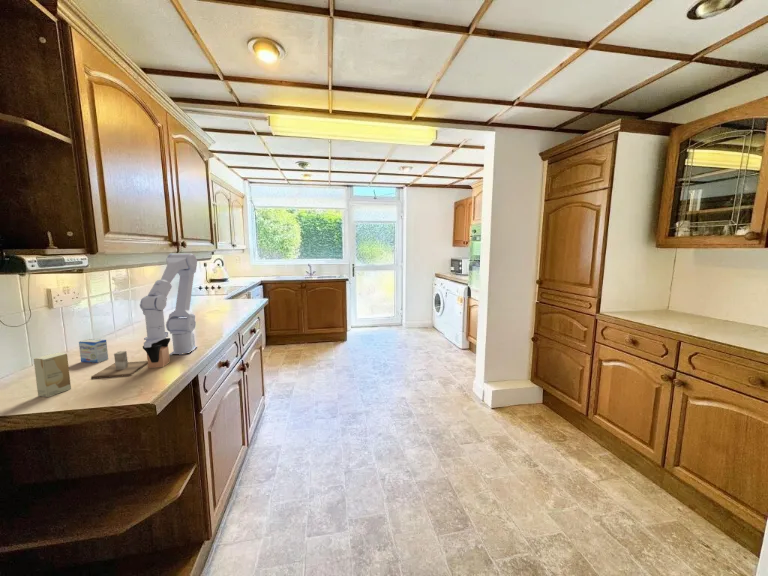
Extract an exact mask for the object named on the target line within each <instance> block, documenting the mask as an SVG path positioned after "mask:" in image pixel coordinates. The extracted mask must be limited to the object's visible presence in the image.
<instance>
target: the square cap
mask: <svg viewBox="0 0 768 576" xmlns="http://www.w3.org/2000/svg"><path fill="white" fill-rule="evenodd" d="M146 358H147V359H146V361H148V364H147V368H148V369H151V368H153V369H154V368H164V367H166V366H167V365H168V364H169V363H170V362H169V361H170V353H169V345H168V346H166V347H161V348H160V351H159V361H158V362H155V363H152V362H151V360H150V358H149V356H148V354H147V353H146ZM168 362H169V363H168ZM167 363H168V364H167ZM163 366H164V367H163Z"/></svg>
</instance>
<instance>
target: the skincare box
mask: <svg viewBox="0 0 768 576" xmlns="http://www.w3.org/2000/svg"><path fill="white" fill-rule="evenodd" d="M33 364H34V374H35V381H36V391H37V396H38V397H45V398H48V397H49V396H50V397H52V396H54V395H57V394H60V393H63V392H66V391H69V390H71V389H72V385H71V377H70V375H71V374H70V368H69V357H68V353H65V352H54V353H51V354H46V355H41V356H39V357H34V358H33ZM50 397H49V398H50Z"/></svg>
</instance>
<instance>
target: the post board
mask: <svg viewBox="0 0 768 576" xmlns="http://www.w3.org/2000/svg"><path fill="white" fill-rule="evenodd" d="M127 353H128V352H127V351H125V350H123V351H117V352H114V354H113V356H114V363H113V364H110V365H108V366H107V367H105V368H104V369H102V370H100V371H99V372H97V373H95V374H93V375H91V376H90V378H91V379H92V380H93V379H105V378H117V377H119V378H121V377H129V376H130V377H131V376H132V375H135V373H137V372H138V371H139V370H141V369H143V368H144V367H146V366H148V360H142V361H140V360H139V361H128V354H127Z"/></svg>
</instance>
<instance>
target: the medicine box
mask: <svg viewBox="0 0 768 576" xmlns="http://www.w3.org/2000/svg"><path fill="white" fill-rule="evenodd" d="M78 347H79V354H80V355H79V357H80V362H81V363H90V362H92V363H94V364H95V363H96V364H98V363H101V362H106V361H107V360H109V352H108V343H107V339H101V338H100V339H98V338H97V339H95V338H94V339H93V338H87V339H84V340H80V341H78ZM92 363H91V364H92Z"/></svg>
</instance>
